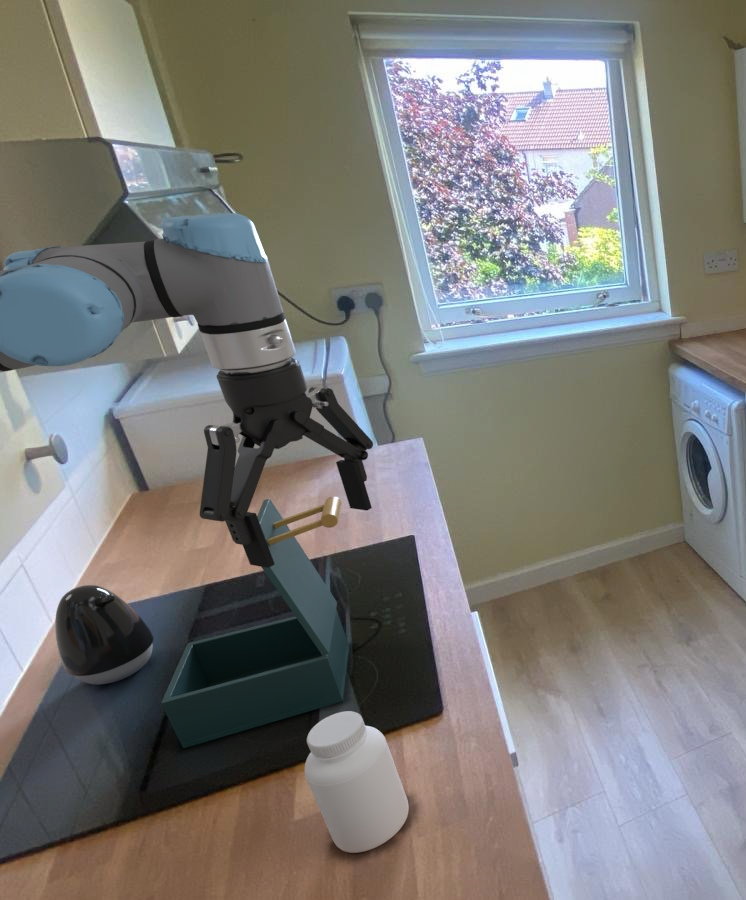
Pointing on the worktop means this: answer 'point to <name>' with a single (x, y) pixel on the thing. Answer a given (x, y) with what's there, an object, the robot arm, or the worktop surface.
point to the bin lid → (301, 569)
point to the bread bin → (253, 680)
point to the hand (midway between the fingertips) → (315, 534)
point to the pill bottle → (355, 782)
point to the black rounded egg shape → (100, 636)
